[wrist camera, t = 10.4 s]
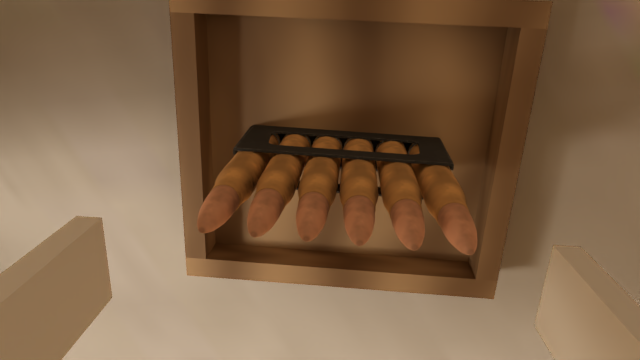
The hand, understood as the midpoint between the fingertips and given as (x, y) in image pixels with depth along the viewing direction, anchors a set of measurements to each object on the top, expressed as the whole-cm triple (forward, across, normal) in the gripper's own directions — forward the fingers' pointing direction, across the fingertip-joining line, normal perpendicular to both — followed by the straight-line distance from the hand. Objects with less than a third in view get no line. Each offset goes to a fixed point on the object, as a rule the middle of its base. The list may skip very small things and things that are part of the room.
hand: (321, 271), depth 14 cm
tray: (+15, +1, 0) cm, 15 cm away
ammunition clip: (+14, +1, 0) cm, 14 cm away
